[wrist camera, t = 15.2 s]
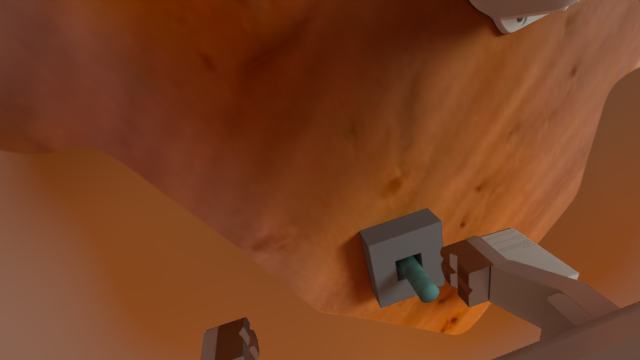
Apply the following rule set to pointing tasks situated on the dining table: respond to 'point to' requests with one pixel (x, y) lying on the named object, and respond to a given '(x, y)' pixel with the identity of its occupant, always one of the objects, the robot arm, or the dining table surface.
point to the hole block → (402, 254)
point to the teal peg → (418, 279)
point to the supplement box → (526, 252)
